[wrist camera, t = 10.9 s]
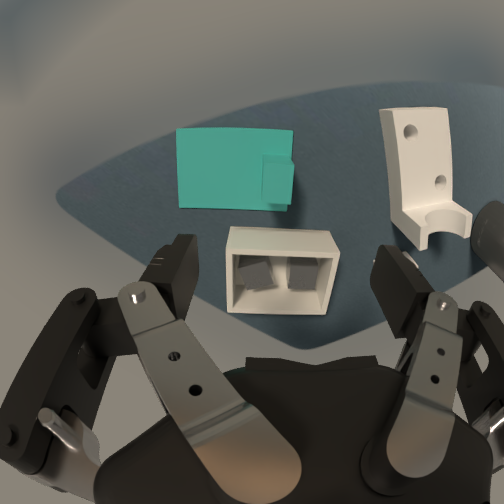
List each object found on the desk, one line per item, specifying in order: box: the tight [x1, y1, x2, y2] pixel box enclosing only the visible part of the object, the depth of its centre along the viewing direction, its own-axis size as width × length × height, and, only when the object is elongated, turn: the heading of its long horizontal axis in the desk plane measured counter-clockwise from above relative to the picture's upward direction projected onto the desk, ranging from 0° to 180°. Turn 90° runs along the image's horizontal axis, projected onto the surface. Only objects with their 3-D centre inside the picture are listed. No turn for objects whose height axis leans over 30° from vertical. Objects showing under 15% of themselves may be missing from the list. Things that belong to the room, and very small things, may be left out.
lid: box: [176, 128, 294, 211], centre depth 25 cm, size 12×9×6 cm
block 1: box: [238, 255, 274, 290], centre depth 30 cm, size 3×3×3 cm
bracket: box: [379, 107, 472, 251], centre depth 23 cm, size 13×7×8 cm, turn 15°
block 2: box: [286, 256, 319, 289], centre depth 30 cm, size 3×3×3 cm
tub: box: [226, 226, 340, 315], centre depth 30 cm, size 11×8×5 cm
